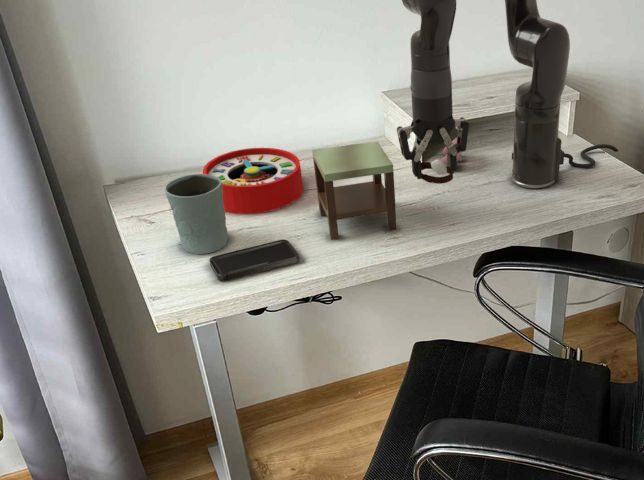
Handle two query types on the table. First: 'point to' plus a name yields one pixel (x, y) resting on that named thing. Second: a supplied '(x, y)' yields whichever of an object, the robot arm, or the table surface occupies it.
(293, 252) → the phone
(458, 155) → the video game controller
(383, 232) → the table surface
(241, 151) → the toy clock
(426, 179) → the watch
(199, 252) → the grey-green cup
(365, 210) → the small side table
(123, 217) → the table surface
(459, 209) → the table surface
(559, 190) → the table surface
